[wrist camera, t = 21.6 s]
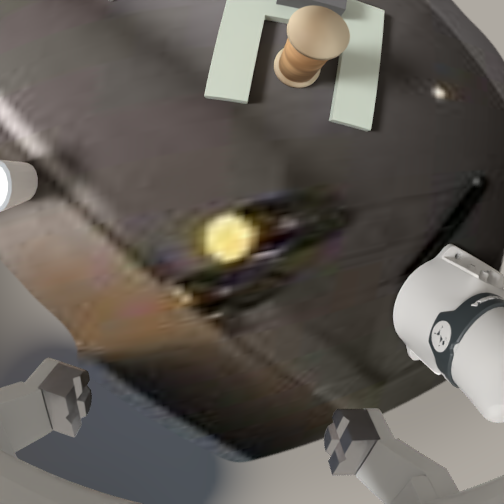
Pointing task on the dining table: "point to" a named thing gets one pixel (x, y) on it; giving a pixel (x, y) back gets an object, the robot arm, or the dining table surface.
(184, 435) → the dining table surface
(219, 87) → the notched board
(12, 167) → the shot glass
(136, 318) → the dining table surface
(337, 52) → the bobbin
